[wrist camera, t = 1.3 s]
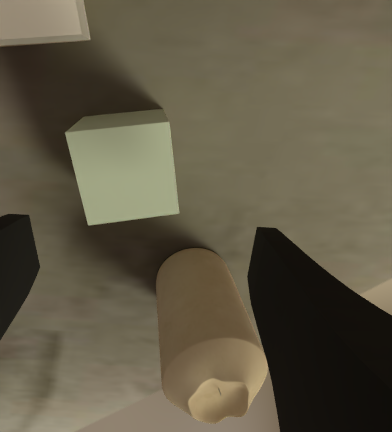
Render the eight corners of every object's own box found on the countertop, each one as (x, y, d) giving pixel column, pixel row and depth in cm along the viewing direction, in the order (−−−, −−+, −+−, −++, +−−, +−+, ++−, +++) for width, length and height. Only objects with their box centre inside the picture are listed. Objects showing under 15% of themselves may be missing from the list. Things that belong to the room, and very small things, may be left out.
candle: (192, 232, 22) (226, 343, 13) (242, 273, 24) (300, 393, 15) (139, 283, 23) (138, 417, 14) (192, 318, 26) (219, 454, 17)
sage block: (100, 190, 20) (88, 225, 16) (84, 116, 18) (64, 132, 14) (171, 181, 21) (179, 213, 16) (162, 108, 19) (169, 121, 14)
